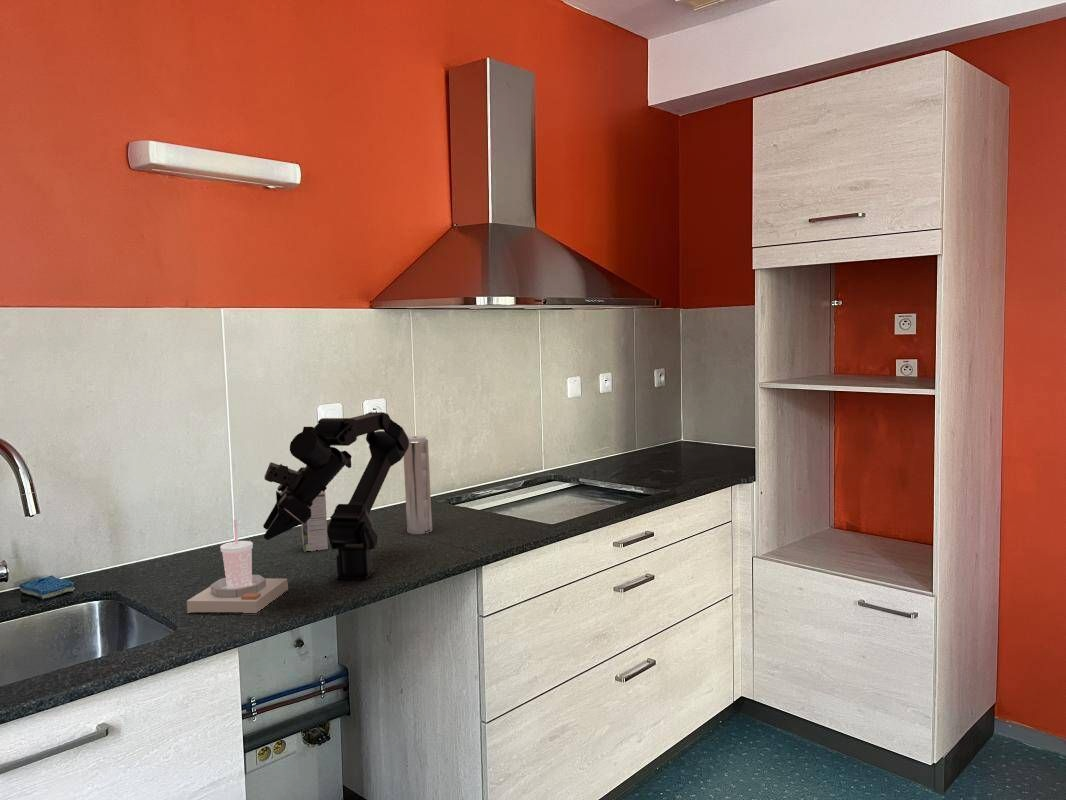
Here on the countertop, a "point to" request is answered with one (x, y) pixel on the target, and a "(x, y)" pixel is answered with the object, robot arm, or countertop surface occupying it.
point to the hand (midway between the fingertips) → (265, 533)
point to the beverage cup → (237, 562)
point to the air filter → (417, 486)
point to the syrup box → (316, 526)
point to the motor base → (238, 596)
